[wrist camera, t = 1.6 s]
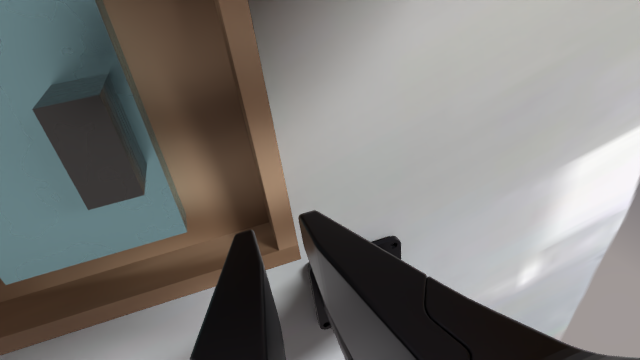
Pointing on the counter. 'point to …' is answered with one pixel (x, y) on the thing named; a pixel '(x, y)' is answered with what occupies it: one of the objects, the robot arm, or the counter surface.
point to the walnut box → (177, 171)
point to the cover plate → (36, 163)
